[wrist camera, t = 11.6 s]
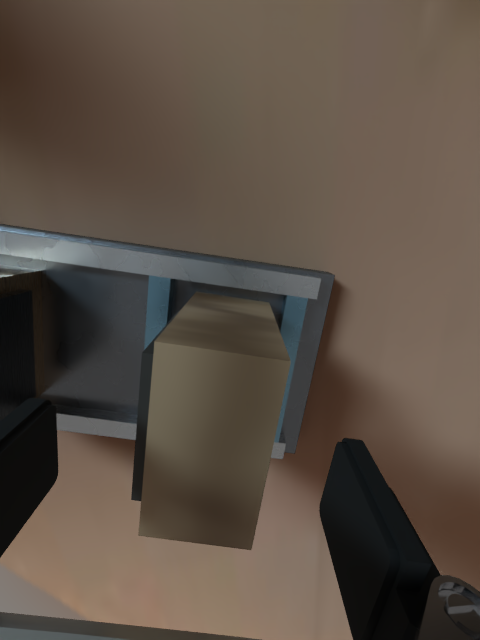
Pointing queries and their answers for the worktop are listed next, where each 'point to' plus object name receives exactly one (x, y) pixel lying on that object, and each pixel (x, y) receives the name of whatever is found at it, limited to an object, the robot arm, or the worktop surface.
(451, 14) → the worktop surface
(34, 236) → the rail
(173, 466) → the tan wooden block
